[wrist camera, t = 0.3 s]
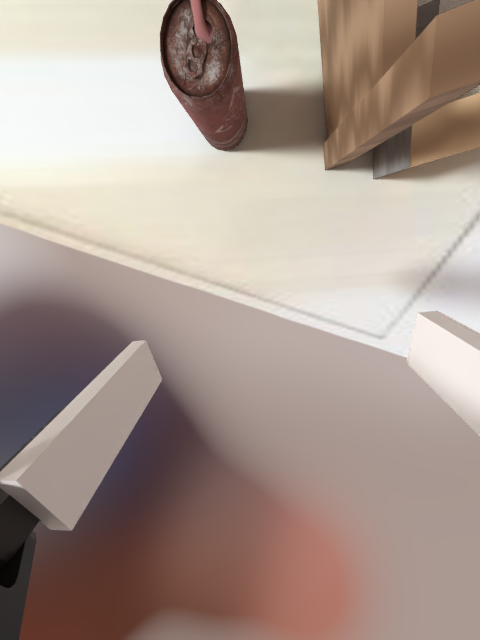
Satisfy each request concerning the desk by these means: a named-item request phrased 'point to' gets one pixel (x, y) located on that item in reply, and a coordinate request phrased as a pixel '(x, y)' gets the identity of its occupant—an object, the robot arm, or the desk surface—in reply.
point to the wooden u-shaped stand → (391, 67)
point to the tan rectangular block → (431, 138)
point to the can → (205, 69)
